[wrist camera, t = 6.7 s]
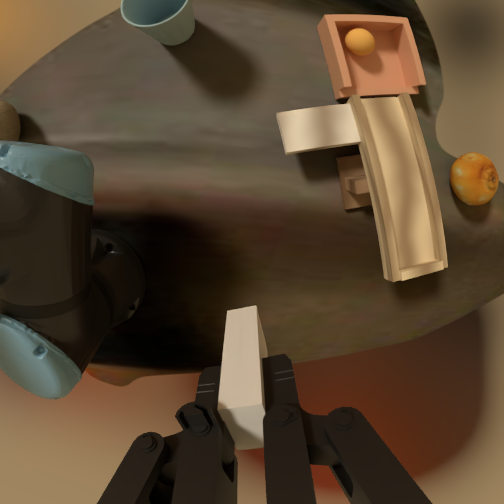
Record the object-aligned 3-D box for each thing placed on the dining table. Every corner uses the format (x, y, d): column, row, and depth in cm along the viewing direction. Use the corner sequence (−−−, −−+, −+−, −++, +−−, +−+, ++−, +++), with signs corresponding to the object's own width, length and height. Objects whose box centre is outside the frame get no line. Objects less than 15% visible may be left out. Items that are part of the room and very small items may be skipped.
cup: (204, 3, 30) (192, -33, 20) (202, 49, 33) (188, 21, 23) (151, 10, 30) (125, -21, 20) (147, 56, 32) (117, 33, 23)
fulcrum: (343, 208, 40) (355, 216, 36) (335, 157, 38) (347, 159, 33) (417, 195, 39) (434, 201, 35) (412, 148, 37) (429, 149, 33)
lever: (314, 294, 35) (318, 301, 32) (275, 113, 34) (276, 102, 30) (437, 264, 34) (449, 267, 31) (400, 100, 33) (410, 90, 29)
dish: (335, 99, 35) (346, 94, 31) (316, 27, 31) (324, 14, 27) (411, 95, 34) (427, 91, 30) (393, 27, 31) (407, 18, 26)
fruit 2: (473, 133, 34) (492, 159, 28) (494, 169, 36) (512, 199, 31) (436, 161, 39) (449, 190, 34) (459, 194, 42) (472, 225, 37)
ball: (352, 32, 27) (339, 24, 29) (352, 60, 31) (340, 50, 33) (381, 33, 27) (367, 24, 29) (379, 59, 30) (366, 49, 33)
